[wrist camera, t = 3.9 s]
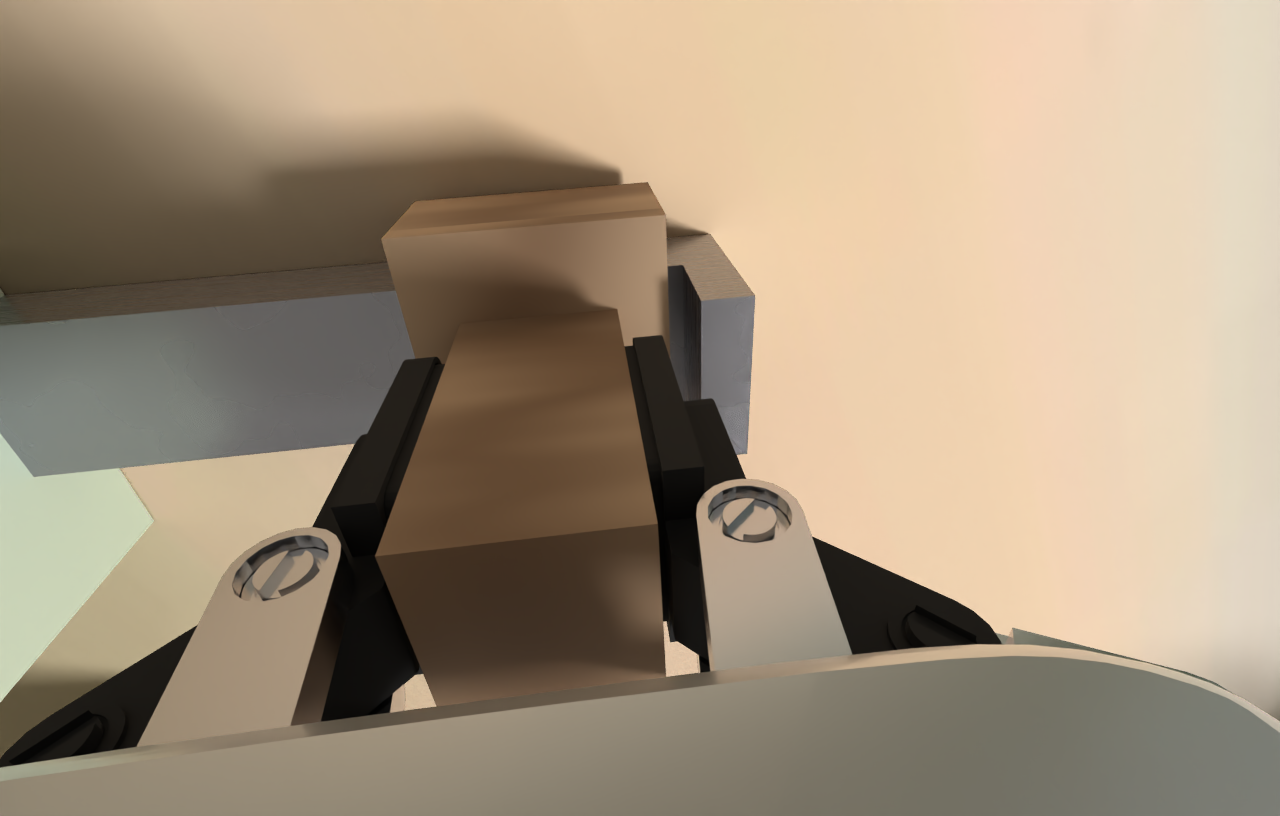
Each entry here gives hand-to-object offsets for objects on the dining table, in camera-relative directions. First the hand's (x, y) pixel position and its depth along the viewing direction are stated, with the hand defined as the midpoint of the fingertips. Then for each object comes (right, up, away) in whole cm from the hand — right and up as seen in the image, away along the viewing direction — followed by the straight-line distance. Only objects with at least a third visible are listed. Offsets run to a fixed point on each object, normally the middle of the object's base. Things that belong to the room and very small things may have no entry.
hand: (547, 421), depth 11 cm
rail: (-5, +2, +4) cm, 7 cm away
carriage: (-1, +3, +4) cm, 5 cm away
